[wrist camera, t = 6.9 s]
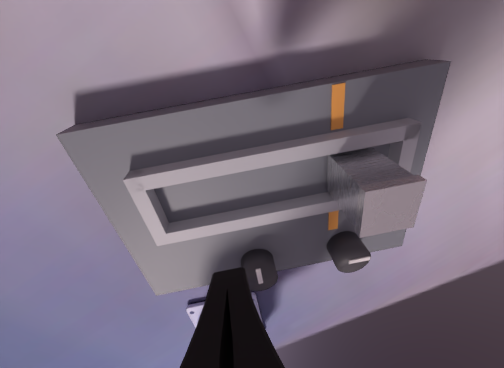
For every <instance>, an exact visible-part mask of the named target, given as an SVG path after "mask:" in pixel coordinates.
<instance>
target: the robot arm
mask: <svg viewBox="0 0 504 368" xmlns="http://www.w3.org/2000/svg"><path fill="white" fill-rule="evenodd" d="M186 311H187V313H188V315H189V317H190V318H191V320H192V322H193V324H194V326H195V328H196V329H195V332H194V334H193V337H192V339H191V342H190V344H189V347H188V349H187V352H186V354H185V357H184V359H183V361H182V364H181V366H180V368H285V367H284V365H283V363H282V362H281V360H280V358H279V356H278V354H277V352H276V350H275V348H274V346H273V344H272V342H271V340H270V338H269V336H268V334H267V332H266V330H265V328H264V326H263V322H262V318H261V314H260V310H259V306H258V301H257V297H256V294H255V293H254V292H251V290H250V286H249V282H248V279H247V275H246V271H245V268H243V267H239V268H234V269H229V270H224V271H219V272H214V273H213V275H212V278H211V282H210V286H209V290H208V293H207V297H206V300H205V302H200V303H195V304H190V305H188V306H187V307H186Z"/></svg>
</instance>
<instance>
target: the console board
mask: <svg viewBox="0 0 504 368" xmlns="http://www.w3.org/2000/svg"><path fill="white" fill-rule="evenodd" d="M450 62H451V61H442V60H421V61H415V62H410V63H405V64H399V65H394V66H388V67H383V68H378V69H372V70H367V71H362V72H356V73H351V74H346V75H340V76H335V77H329V78H324V79H319V80H313V81H308V82H303V83H297V84H292V85H286V86H281V87H276V88H270V89H265V90H260V91H254V92H249V93H244V94H238V95H233V96H227V97H222V98H217V99H211V100H206V101H201V102H195V103H190V104H184V105H179V106H174V107H168V108H163V109H158V110H152V111H147V112H142V113H136V114H131V115H125V116H120V117H115V118H109V119H104V120H99V121H93V122H88V123H82V124H77V125H73V126H72V127H70V128H68V129H66V130H64V131H62V132H60V133H58V134H56V136H57V137H58V139H59V141H60V142H61V144H62V145H63V147H64V149H65V150H66V152H67V153H68V155H69V157H70V158H71V160H72V161H73V163H74V165H75V166H76V168H77V169H78V171H79V173H80V174H81V176H82V177H83V179H84V181H85V182H86V184H87V185H88V187H89V189H90V190H91V192H92V193H93V195H94V197H95V198H96V200H97V201H98V203H99V205H100V206H101V208H102V209H103V211H104V213H105V214H106V216H107V217H108V219H109V221H110V222H111V224H112V225H113V227H114V229H115V230H116V232H117V233H118V235H119V237H120V238H121V240H122V241H123V243H124V245H125V246H126V248H127V249H128V251H129V253H130V254H131V256H132V257H133V259H134V260H135V262H136V264H137V265H138V267H139V268H140V270H141V272H142V273H143V275H144V276H145V278H146V280H147V281H148V283H149V284H150V286H151V288H152V289H153V291H154V292H155V294H156V296H157V295H162V294H167V293H172V292H177V291H182V290H186V289H191V288H196V287H201V286H206V285H210V282H211V278H212V275H213V273H214V272H219V271H224V270H229V269H234V268H239V267H243V268H245V271H246V275H247V279H248V282H249V286H250V290H253V291H262V290H266V289H268V288H270V287H272V286H273V285H274V284H275V283H276V282H277V279H278V275H277V271H281V270H285V269H290V268H295V267H300V266H305V265H310V264H315V263H320V262H325V261H330V260H333V262H334V264H335V266H336V267H337V269H338V270H339V271H341V272H345V273H350V272H355V271H357V270H360V269H361V268H363V267H364V266H365V265H366V264H367V263H368V262H369V260H370V258H371V254H370V252H375V251H379V250H384V249H389V248H394V247H399V246H402V244H403V240H404V236H405V232H406V229H402V230H397V231H392V232H387V233H382V234H377V235H372V236H367V237H362V238H359V236H358V235H357V234H356V232H355V227H354V226H353V224H352V223H351V222H350V220H349V219H348V218H347V216H346V215H345V214H344V212H343V211H342V209H341V208H340V207H339V205H338V204H337V203H336V201H335V200H334V199H333V197H332V196H331V195H330V193H329V192H328V191H327V171H328V155H331V154H337V153H342V152H347V151H352V150H357V149H363V148H368V147H372V148H374V149H375V150H377V151H378V152H380V153H381V154H383V155H384V156H386V157H387V158H389V159H390V160H392V161H393V162H395V163H396V164H398V165H399V166H401V167H402V168H404V169H405V170H407V171H408V172H410V173H412V174H413V175H420V176H421V172H422V168H423V164H424V161H425V157H426V153H427V149H428V145H429V142H430V138H431V134H432V130H433V127H434V123H435V119H436V115H437V111H438V108H439V104H440V100H441V96H442V93H443V89H444V85H445V81H446V77H447V74H448V70H449V66H450Z"/></svg>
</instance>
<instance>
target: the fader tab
mask: <svg viewBox="0 0 504 368" xmlns="http://www.w3.org/2000/svg"><path fill="white" fill-rule="evenodd" d="M426 182H427V180H426V179H424V178H423V177H421V176H420V175H413V174H412V173H410V172H408V171H407V170H405V169H404V168H402V167H401V166H399V165H398V164H396V163H395V162H393V161H392V160H390V159H389V158H387V157H386V156H384V155H383V154H381V153H380V152H378V151H377V150H375V149H374V148H372V147H368V148H363V149H357V150H352V151H347V152H342V153H337V154H331V155H328V171H327V191H328V192H329V193H330V195H331V196H332V197H333V199H334V200H335V201H336V203H337V204H338V205H339V207H340V208H341V209H342V211H343V212H344V214H345V215H346V216H347V218H348V219H349V220H350V222H351V223H352V224H353V226H354V227H355V232H356V234H357V235H358V236H359V238H362V237H367V236H372V235H377V234H382V233H387V232H392V231H397V230H402V229H407V228H412V227H414V224H415V220H416V217H417V213H418V210H419V206H420V203H421V199H422V196H423V192H424V189H425V185H426Z"/></svg>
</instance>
